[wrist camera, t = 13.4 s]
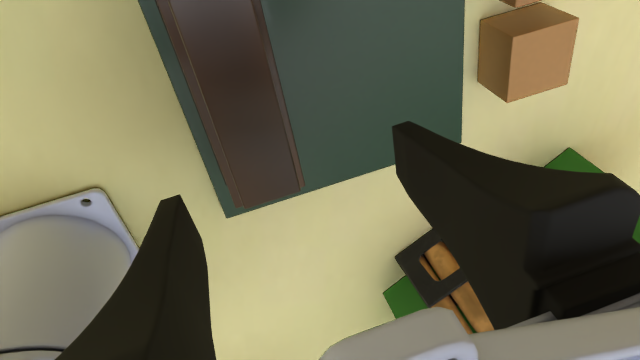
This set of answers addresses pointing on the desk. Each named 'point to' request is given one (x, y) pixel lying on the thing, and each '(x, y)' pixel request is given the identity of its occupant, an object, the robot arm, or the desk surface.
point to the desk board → (347, 81)
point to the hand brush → (236, 95)
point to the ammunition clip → (442, 281)
